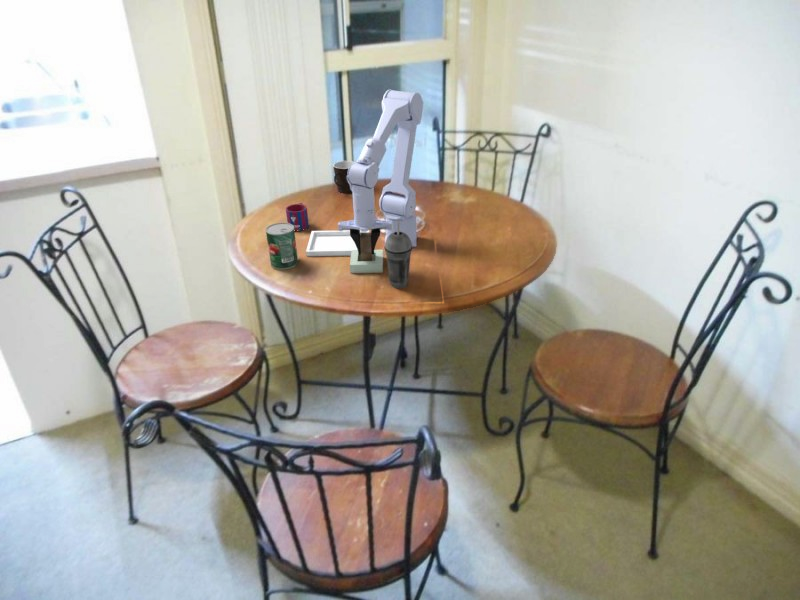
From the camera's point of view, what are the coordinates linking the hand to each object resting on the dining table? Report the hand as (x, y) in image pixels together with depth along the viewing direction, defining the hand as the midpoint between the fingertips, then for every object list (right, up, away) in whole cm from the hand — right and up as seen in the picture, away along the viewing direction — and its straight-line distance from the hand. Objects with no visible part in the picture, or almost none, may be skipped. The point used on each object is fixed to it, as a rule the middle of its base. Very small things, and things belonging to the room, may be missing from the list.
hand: (366, 252), depth 159 cm
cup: (-23, +11, +27) cm, 37 cm away
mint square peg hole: (0, -4, +2) cm, 4 cm away
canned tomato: (-24, -3, +5) cm, 25 cm away
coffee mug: (-12, +27, +51) cm, 59 cm away
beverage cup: (+9, -10, -7) cm, 15 cm away
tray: (-9, +3, +13) cm, 16 cm away
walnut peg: (0, -3, +2) cm, 3 cm away
